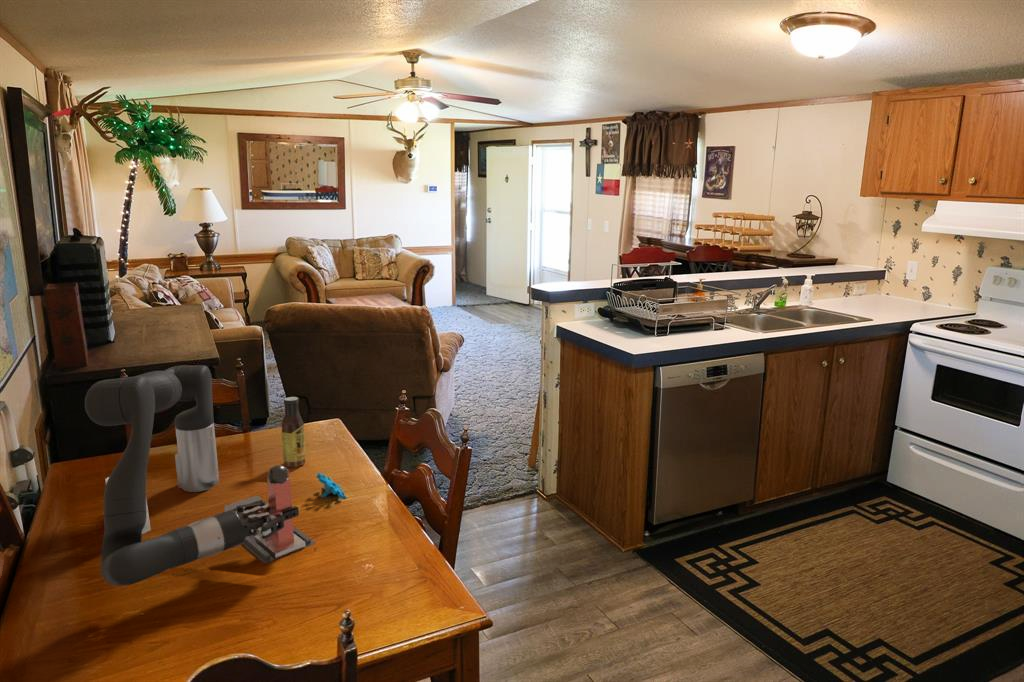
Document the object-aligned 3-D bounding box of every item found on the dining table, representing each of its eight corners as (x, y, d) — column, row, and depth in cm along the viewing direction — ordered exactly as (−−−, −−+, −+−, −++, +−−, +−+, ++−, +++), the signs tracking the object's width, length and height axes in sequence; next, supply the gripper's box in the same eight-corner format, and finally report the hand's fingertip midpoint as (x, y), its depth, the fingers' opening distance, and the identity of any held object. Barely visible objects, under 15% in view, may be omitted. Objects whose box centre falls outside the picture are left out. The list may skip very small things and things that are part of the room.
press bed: (212, 522, 162) (210, 503, 161) (260, 506, 170) (258, 488, 169) (265, 569, 143) (263, 548, 141) (316, 549, 151) (315, 528, 150)
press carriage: (254, 540, 151) (248, 461, 146) (284, 529, 156) (278, 452, 151) (275, 558, 144) (269, 475, 140) (305, 546, 149) (300, 466, 144)
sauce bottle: (302, 468, 192) (298, 402, 188) (280, 468, 193) (275, 402, 188) (309, 459, 199) (305, 395, 194) (288, 459, 199) (283, 395, 194)
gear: (352, 500, 170) (321, 477, 167) (336, 519, 169) (305, 496, 166) (347, 487, 181) (318, 465, 178) (332, 505, 180) (302, 483, 177)
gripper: (227, 530, 131) (308, 502, 143) (199, 505, 141) (277, 481, 153) (230, 565, 133) (310, 534, 145) (202, 538, 143) (279, 511, 155)
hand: (292, 507), depth 149 cm, fingers closed on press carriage, 3 cm apart
